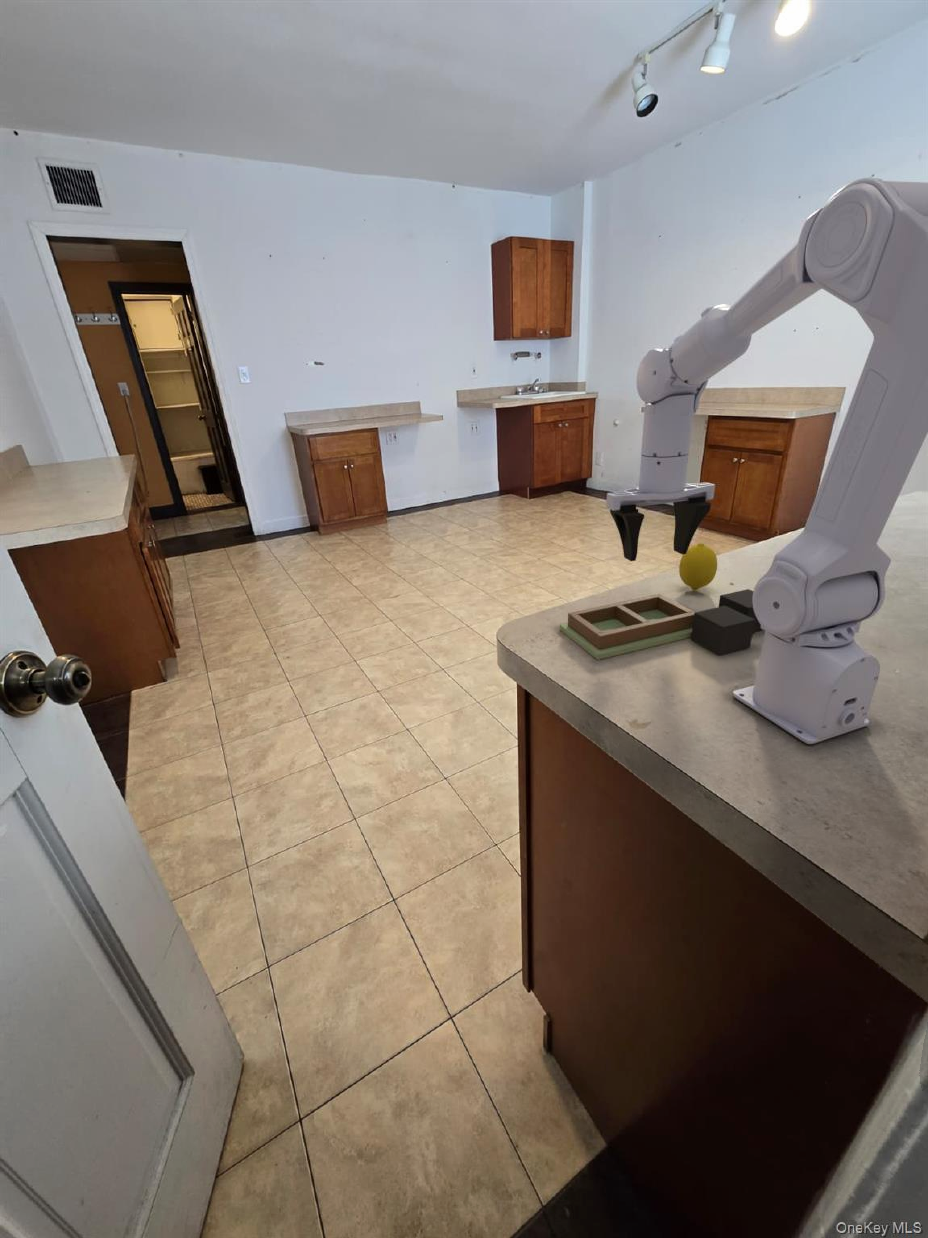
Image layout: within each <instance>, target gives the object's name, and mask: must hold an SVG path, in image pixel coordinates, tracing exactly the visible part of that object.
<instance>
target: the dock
mask: <svg viewBox="0 0 928 1238" xmlns="http://www.w3.org/2000/svg"><path fill="white" fill-rule="evenodd" d="M695 612H696V611H694V610H692V609H691V608H688V607H686V606H684V605H683V604H680V603H679V602H677V601H675V600H672V599H671V598H669V597H667V596H664V595H662V594H661V593H657V594H656V593H655V594H652V595H646V596H643V597H638V598H633V599H629V600H628V599H627V600H624V601H619V602H613V603H610V604H605V605H600V606H595V607H591V608H586V609H582V610H576V611H572V612H568V613H567V622H565V623H560V624H559V631H561V632H562V633H564V634H565V635H566V636H567V637H569V639H571V640H572V641H573V642H575V643H576V644H577V645H578V646H580V648H582V649H583V650H585V651H586V652H587V653H589V655H591V656H592V657H593V658H594V659H596V660H597V661H599V660H603V659H607V658H612V657H615V656H616V657H617V656H619V655H624V654H628V653H632V652H637V651H640V650H644V649H648V648H653V647H657V646H661V645H664V644H668V643H673V642H677V641H681V640H685V639H689V638H691V635H692V628H693V620H694V613H695Z"/></svg>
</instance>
